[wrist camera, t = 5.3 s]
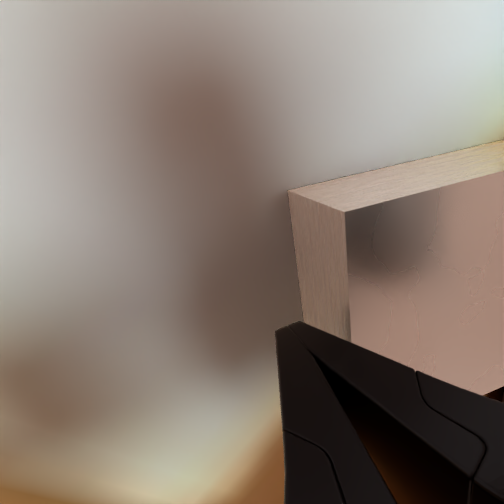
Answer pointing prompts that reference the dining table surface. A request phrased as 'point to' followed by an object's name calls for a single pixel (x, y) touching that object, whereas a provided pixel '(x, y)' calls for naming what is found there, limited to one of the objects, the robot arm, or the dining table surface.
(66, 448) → the dining table surface
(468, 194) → the pale pink block
